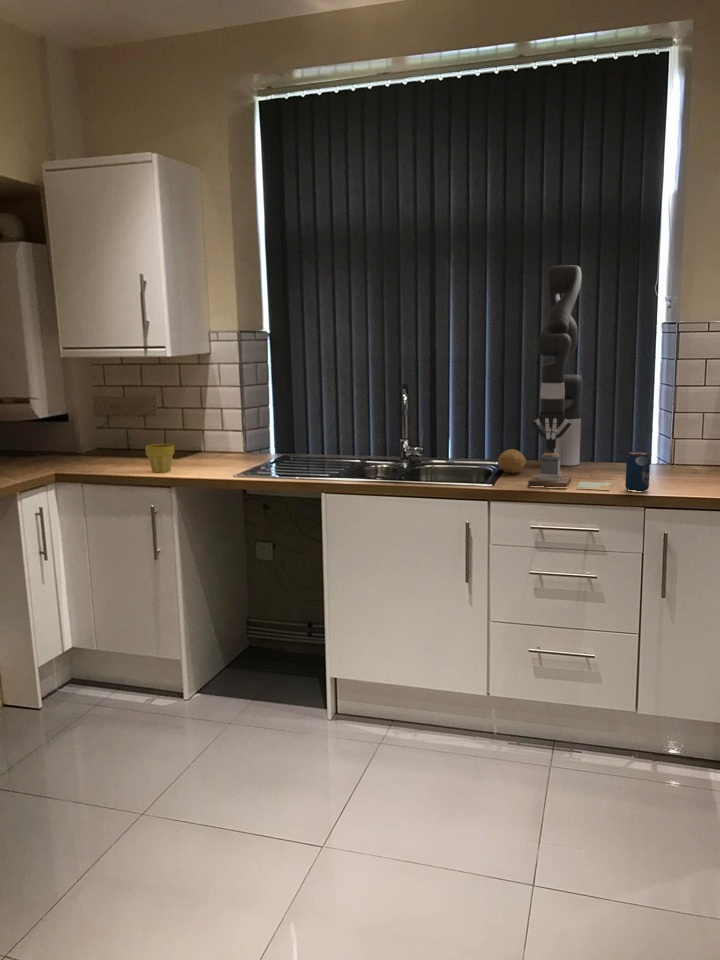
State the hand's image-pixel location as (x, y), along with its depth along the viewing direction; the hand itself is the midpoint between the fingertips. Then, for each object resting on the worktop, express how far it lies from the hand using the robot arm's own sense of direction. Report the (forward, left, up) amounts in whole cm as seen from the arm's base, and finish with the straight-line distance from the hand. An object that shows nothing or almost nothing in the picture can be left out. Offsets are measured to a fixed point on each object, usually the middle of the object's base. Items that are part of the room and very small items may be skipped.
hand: (551, 450), depth 262 cm
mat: (0, +14, -11) cm, 18 cm away
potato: (-18, -16, -12) cm, 27 cm away
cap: (0, 0, -7) cm, 7 cm away
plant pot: (+14, -141, -12) cm, 142 cm away
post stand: (0, 0, -11) cm, 11 cm away
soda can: (+2, +27, -12) cm, 29 cm away
